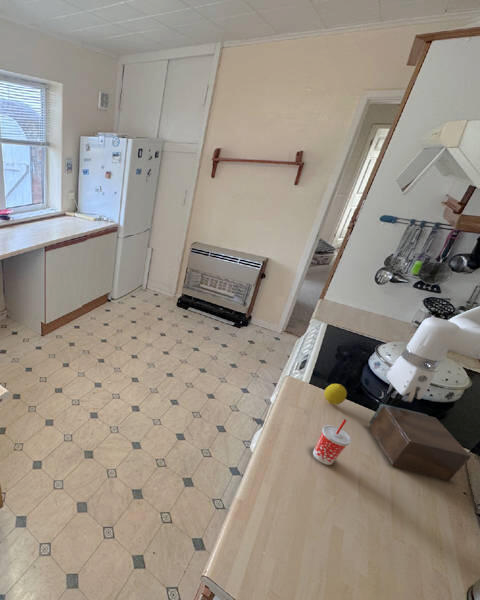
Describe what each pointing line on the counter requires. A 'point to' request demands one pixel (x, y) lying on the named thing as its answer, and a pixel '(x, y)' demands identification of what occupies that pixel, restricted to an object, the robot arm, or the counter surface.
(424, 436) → the cabinet
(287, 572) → the counter surface
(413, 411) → the drawer
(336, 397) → the lemon
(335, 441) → the beverage cup
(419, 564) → the counter surface
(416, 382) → the robot arm
